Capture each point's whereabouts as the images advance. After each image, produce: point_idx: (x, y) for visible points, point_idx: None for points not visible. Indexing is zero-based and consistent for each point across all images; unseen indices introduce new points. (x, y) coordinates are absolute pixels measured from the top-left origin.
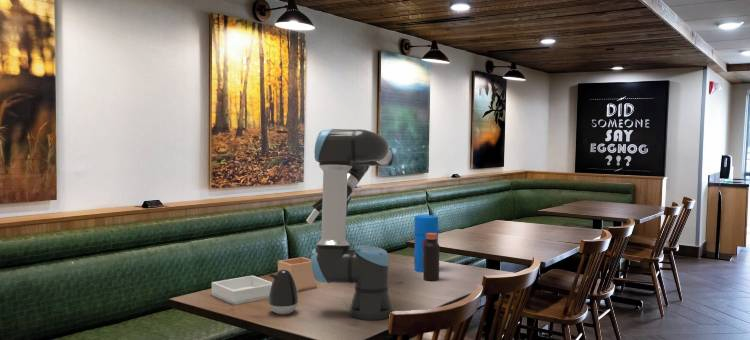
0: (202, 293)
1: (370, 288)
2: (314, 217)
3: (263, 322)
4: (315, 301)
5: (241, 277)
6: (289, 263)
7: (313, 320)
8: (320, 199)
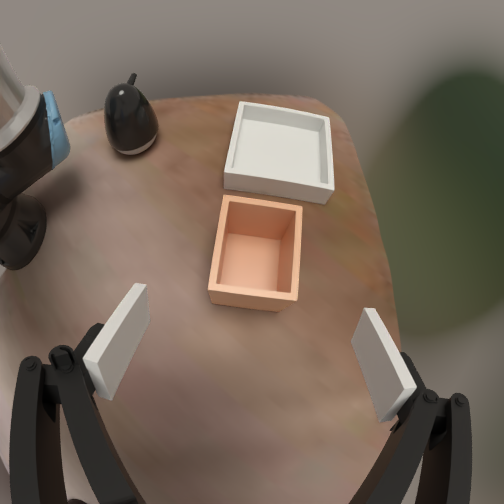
0: (341, 133)
1: None
2: (368, 371)
3: None
4: (129, 218)
5: (331, 164)
6: (291, 247)
7: (76, 152)
8: (465, 472)
